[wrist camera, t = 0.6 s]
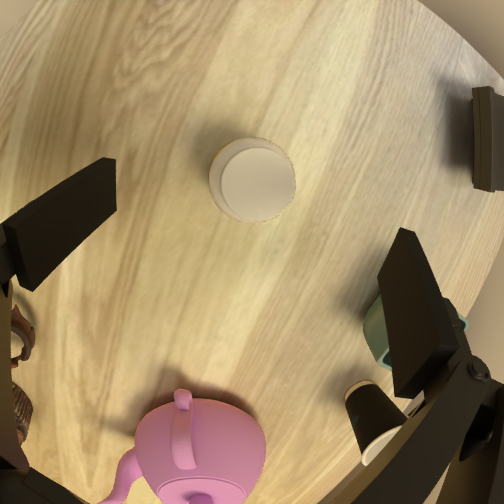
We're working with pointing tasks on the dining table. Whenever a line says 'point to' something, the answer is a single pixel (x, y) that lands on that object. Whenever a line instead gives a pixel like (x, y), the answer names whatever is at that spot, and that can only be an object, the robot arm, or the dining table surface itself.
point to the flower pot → (384, 333)
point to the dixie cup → (372, 418)
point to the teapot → (193, 453)
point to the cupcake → (21, 412)
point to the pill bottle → (252, 180)
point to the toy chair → (488, 139)
